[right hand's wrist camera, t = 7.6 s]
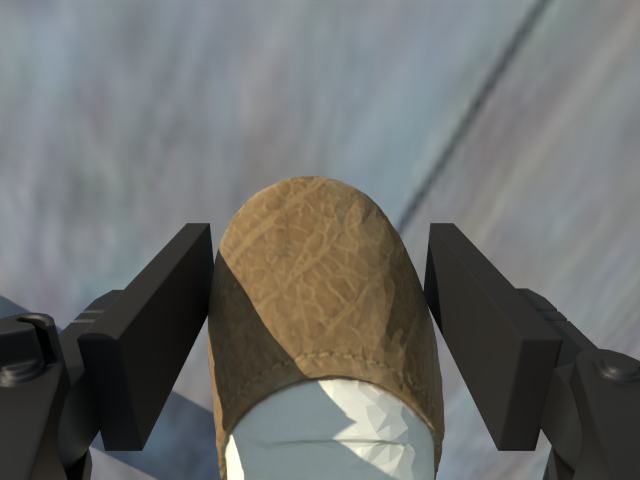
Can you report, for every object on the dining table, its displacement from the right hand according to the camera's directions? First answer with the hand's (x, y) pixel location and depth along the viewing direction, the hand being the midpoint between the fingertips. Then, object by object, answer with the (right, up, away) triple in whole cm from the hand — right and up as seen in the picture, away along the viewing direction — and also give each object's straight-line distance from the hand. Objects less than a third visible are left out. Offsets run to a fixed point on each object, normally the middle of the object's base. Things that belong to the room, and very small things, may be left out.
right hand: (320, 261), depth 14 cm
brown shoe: (0, -8, +4) cm, 9 cm away
